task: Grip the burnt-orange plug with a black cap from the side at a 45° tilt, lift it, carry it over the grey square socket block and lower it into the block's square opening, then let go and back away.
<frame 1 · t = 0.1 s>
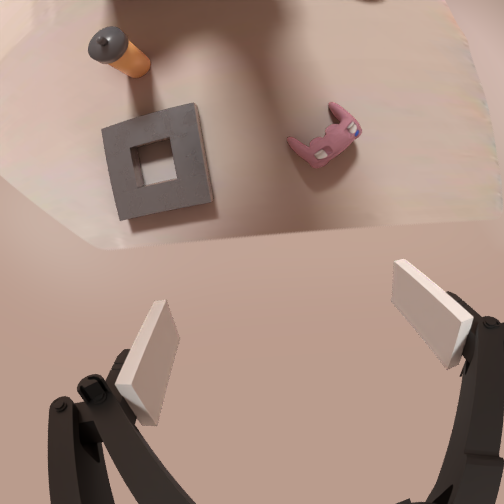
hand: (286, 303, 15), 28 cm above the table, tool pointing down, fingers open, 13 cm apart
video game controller: (320, 134, 39), on the table
plug: (138, 66, 33), on the table
grey square socket block: (158, 161, 39), on the table
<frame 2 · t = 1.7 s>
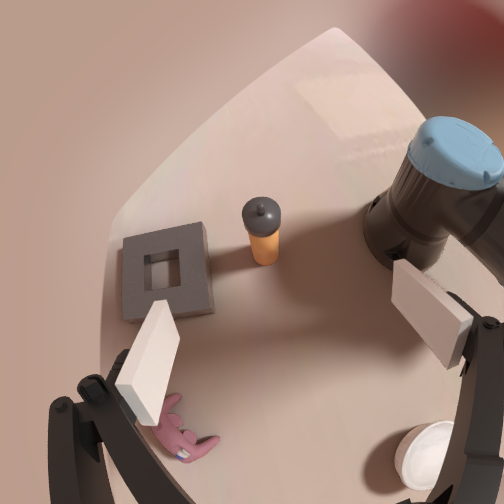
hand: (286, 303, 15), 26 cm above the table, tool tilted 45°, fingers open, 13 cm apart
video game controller: (187, 426, 35), on the table
ramekin: (419, 450, 29), on the table
plug: (265, 253, 45), on the table
grey square socket block: (168, 276, 45), on the table
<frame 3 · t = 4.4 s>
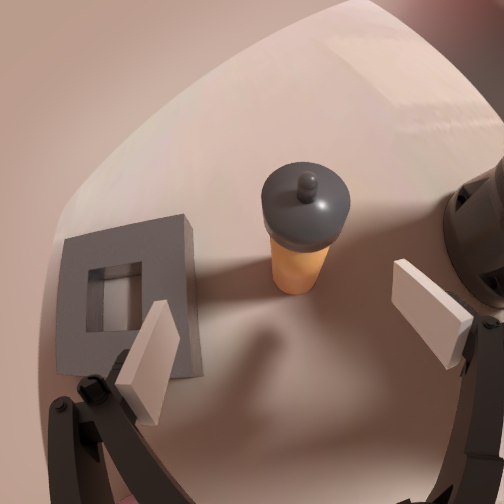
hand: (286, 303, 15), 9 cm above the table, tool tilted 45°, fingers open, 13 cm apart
plug: (295, 272, 25), on the table
grey square socket block: (128, 305, 25), on the table
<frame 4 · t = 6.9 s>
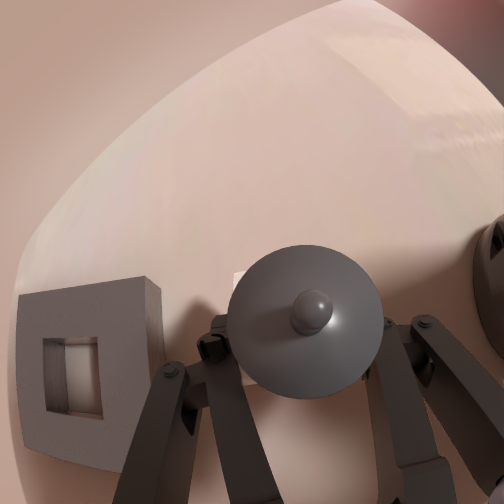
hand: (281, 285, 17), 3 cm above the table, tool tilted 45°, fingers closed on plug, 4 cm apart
plug: (290, 351, 19), on the table, touching gripper
grey square socket block: (91, 379, 19), on the table
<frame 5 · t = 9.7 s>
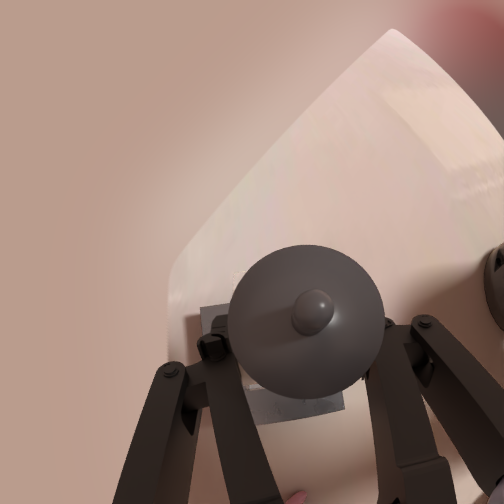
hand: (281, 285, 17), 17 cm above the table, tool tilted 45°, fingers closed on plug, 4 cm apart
plug: (290, 351, 19), point 14 cm above the table, touching gripper
grey square socket block: (271, 361, 31), on the table
when the fingers open (5 cm above the table, at t = 12.8 s): plug drops 2 cm, resting in grey square socket block.
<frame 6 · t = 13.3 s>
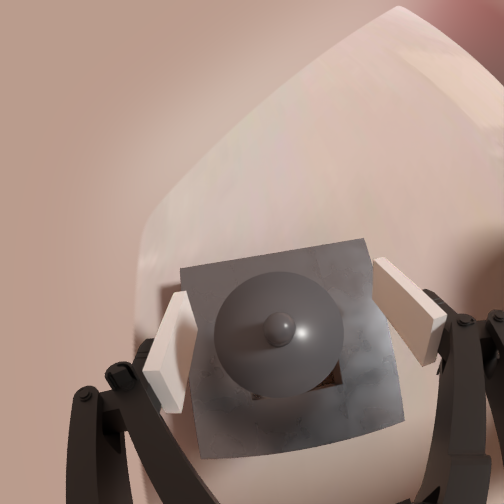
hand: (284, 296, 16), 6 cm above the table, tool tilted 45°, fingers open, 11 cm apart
plug: (277, 355, 21), resting in grey square socket block
grey square socket block: (289, 353, 21), on the table
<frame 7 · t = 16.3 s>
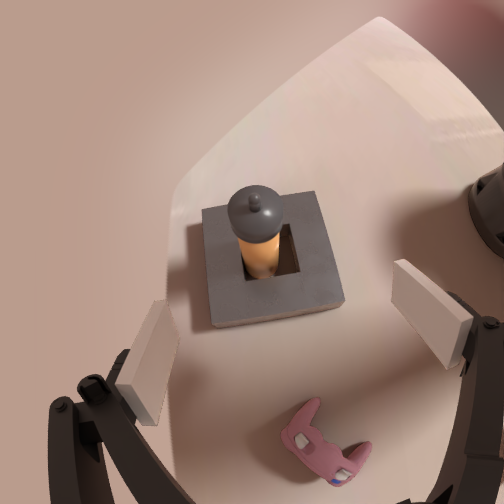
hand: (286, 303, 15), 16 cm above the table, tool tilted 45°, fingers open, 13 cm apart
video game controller: (324, 438, 25), on the table
plug: (261, 262, 34), resting in grey square socket block
grey square socket block: (269, 261, 34), on the table
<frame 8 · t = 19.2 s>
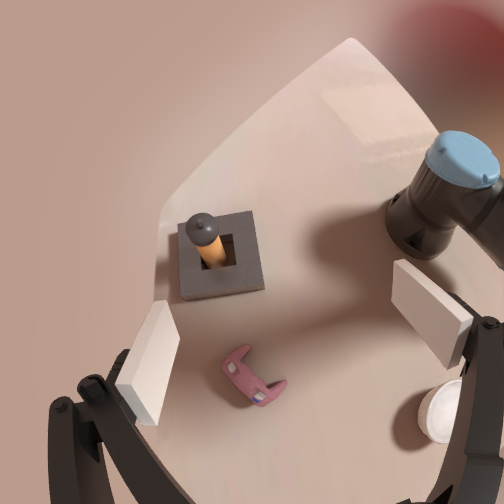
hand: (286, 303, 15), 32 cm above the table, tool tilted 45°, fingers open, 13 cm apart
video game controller: (255, 375, 43), on the table
ramekin: (437, 410, 36), on the table
plug: (215, 259, 52), resting in grey square socket block
grey square socket block: (220, 258, 52), on the table
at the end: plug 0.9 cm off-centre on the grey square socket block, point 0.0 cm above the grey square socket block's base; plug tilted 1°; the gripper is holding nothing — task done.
